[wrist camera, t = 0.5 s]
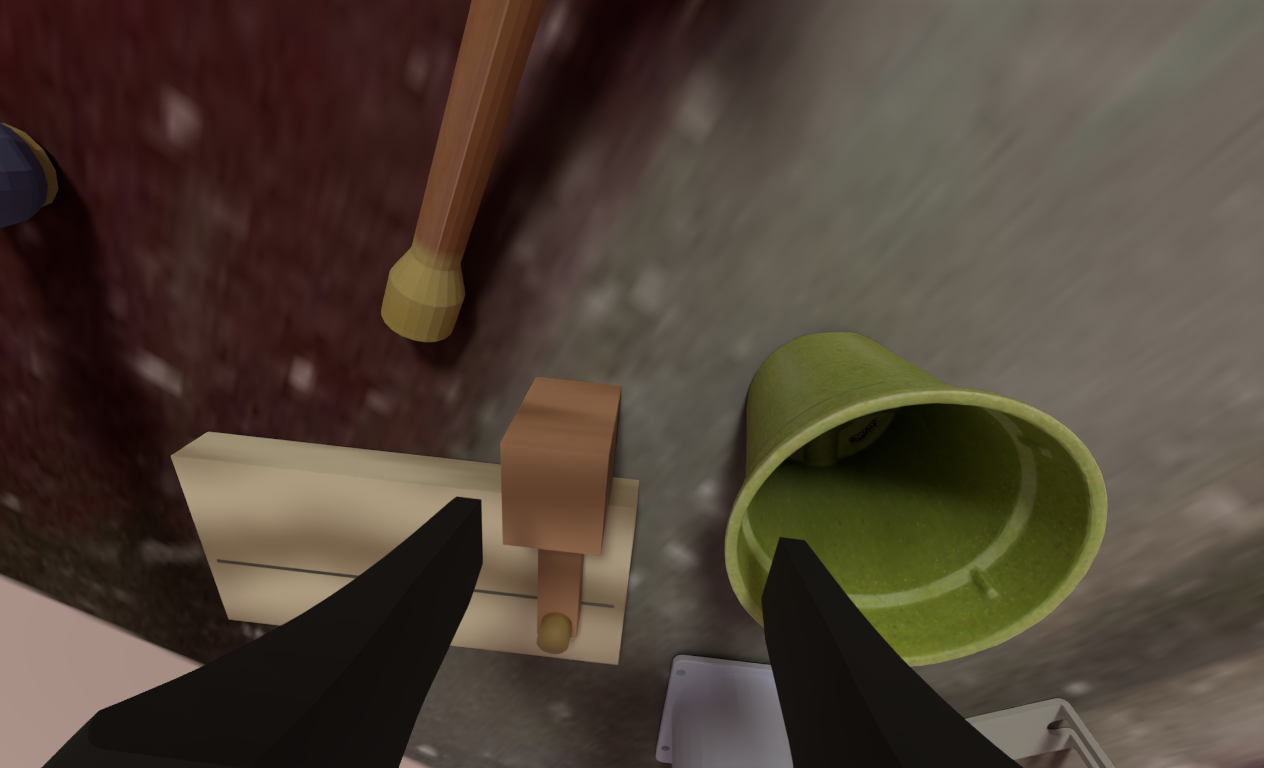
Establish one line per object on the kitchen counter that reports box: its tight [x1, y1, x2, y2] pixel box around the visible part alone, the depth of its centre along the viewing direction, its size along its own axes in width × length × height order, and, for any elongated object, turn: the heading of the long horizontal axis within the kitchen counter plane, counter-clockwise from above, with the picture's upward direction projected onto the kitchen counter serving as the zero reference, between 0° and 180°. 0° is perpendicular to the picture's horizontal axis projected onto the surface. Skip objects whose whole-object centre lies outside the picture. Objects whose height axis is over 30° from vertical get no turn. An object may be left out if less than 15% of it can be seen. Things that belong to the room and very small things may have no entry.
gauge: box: [500, 377, 621, 654], centre depth 22 cm, size 11×4×5 cm, turn 175°
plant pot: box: [724, 332, 1107, 667], centre depth 17 cm, size 9×9×9 cm
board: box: [171, 432, 639, 665], centre depth 25 cm, size 10×20×2 cm, turn 85°
